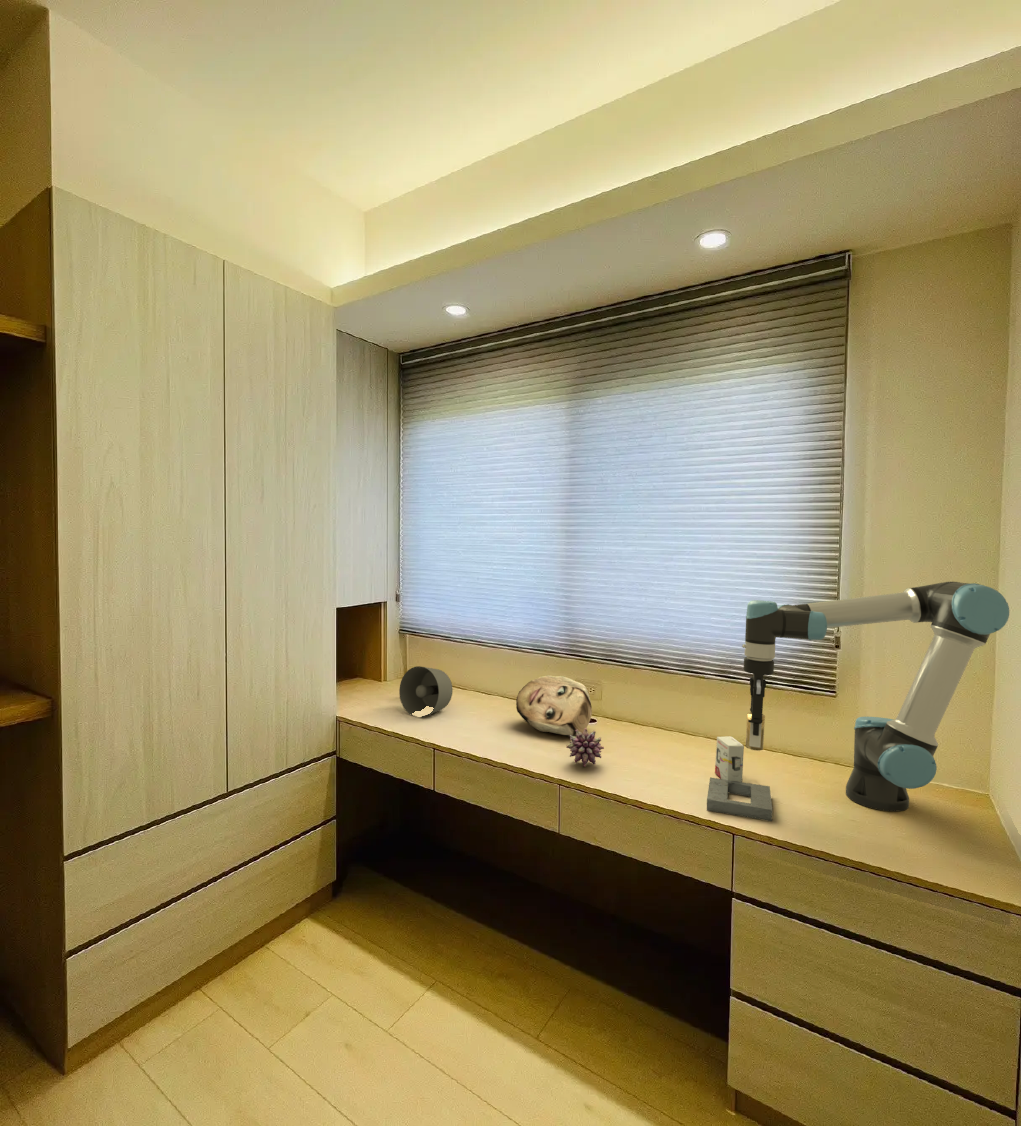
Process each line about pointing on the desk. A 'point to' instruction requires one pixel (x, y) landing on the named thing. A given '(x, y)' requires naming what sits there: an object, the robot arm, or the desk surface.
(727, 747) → the ink box
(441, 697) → the light fixture
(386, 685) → the desk surface
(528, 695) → the head sculpture
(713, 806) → the frame
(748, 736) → the cylinder
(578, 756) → the purple spiky ball
